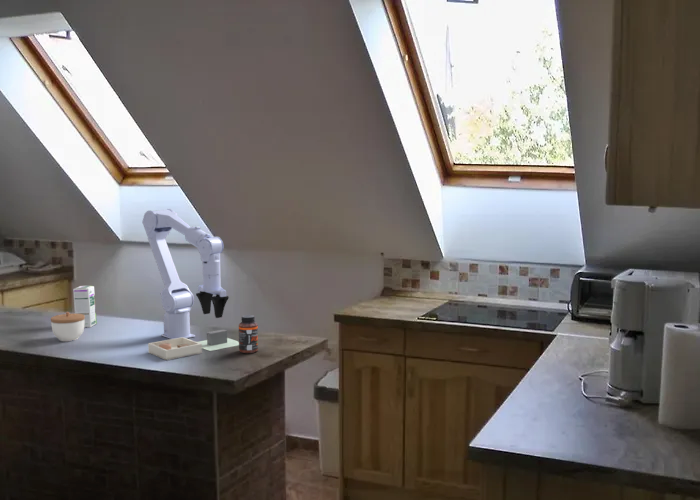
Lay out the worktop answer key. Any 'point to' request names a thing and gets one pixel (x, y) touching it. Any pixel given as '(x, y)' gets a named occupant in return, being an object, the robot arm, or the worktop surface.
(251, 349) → the supplement bottle
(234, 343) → the lid
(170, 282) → the robot arm
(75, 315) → the lidded jar
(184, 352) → the storage box
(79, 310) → the syrup box
